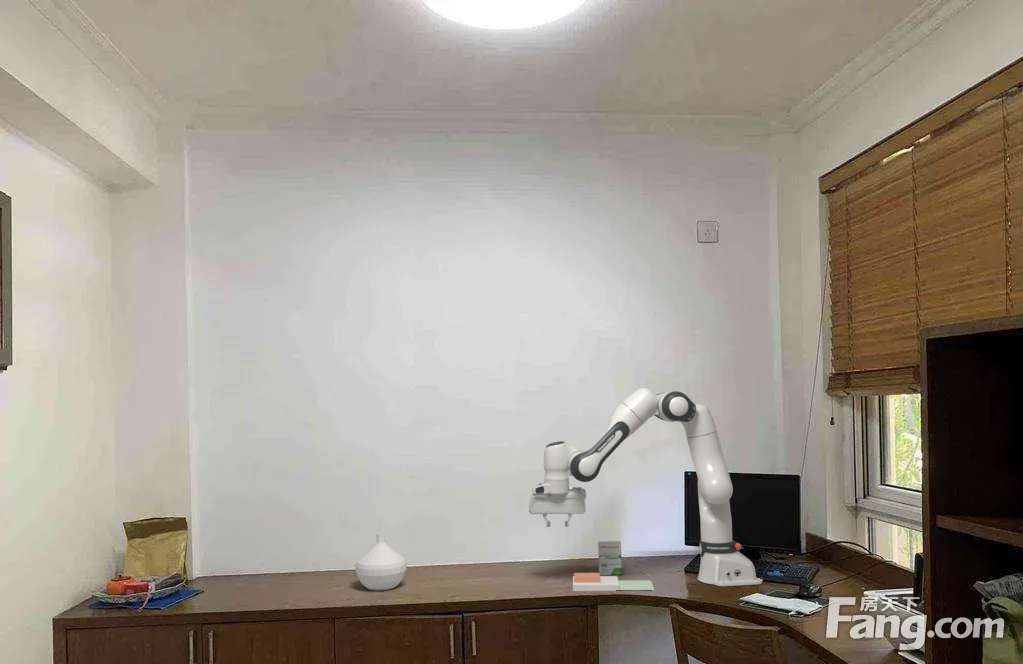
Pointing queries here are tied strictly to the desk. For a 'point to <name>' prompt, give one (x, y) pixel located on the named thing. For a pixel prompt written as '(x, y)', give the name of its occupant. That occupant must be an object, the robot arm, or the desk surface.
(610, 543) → the ink box
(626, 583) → the mat
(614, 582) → the deck
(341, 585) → the desk surface
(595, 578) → the card
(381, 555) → the vase
